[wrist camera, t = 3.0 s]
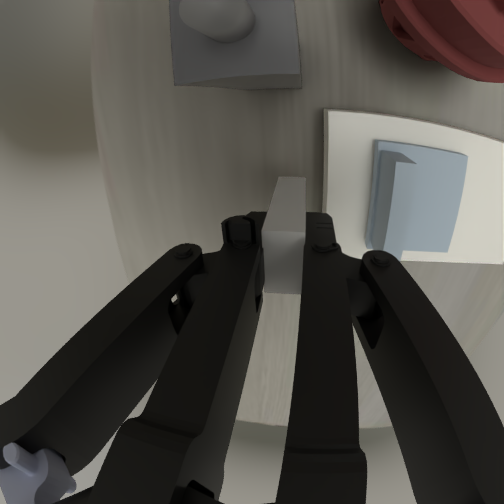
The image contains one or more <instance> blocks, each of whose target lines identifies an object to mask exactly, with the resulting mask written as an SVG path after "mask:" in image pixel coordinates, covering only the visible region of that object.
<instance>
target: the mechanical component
mask: <svg viewBox="0 0 504 504" xmlns="http://www.w3.org/2000/svg"><path fill="white" fill-rule="evenodd" d="M379 4H380V7H381V12H382V15H383V18H384V20H385V22H386V24H387V26H388V28H389V29H390V30H391V32H392V33H393V35H394V36H395V37H396V38H397V39H398V40H399V41H400V42H401V43H402V44H403V45H404V46H405V47H407V48H408V49H409V50H411V51H412V52H414V53H415V54H417V55H419V56H420V57H421V58H422V59H424V60H426V61H430V60H433V61H438V62H440V63H441V64H443V65H444V66H446V67H447V68H449V69H450V70H452V71H454V72H456V73H457V74H460V75H462V76H464V77H466V78H469V79H473V80H476V81H482V82H493V83H504V0H379Z"/></svg>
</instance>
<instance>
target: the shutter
mask: <svg viewBox="0 0 504 504" xmlns="http://www.w3.org/2000/svg"><path fill="white" fill-rule="evenodd" d="M467 162H468V156H467V155H465V154H463V153H459V152H454V151H450V150H445V149H439V148H434V147H428V146H422V145H416V144H410V143H403V142H395V141H387V140H378V139H375V152H374V168H373V180H372V191H371V200H370V209H369V217H368V225H367V232H366V239H365V245H366V248H367V249H374V250H382V251H386V252H388V253H390V254H392V255H393V256H395V257H396V258H397V259H398V260H399V262H400V260H401V256H402V252H403V250H404V251H425V252H445V253H448V249H449V246H450V242H451V239H452V235H453V232H454V228H455V224H456V220H457V216H458V211H459V207H460V202H461V198H462V192H463V187H464V181H465V175H466V169H467Z"/></svg>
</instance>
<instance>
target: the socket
mask: <svg viewBox="0 0 504 504" xmlns="http://www.w3.org/2000/svg"><path fill="white" fill-rule="evenodd" d="M375 139H378V140H387V141H395V142H403V143H410V144H416V145H422V146H428V147H434V148H439V149H445V150H450V151H454V152H459V153H463V154H465V155H467V156H468V162H467V169H466V175H465V181H464V187H463V192H462V198H461V202H460V207H459V211H458V216H457V220H456V224H455V228H454V232H453V235H452V239H451V242H450V246H449V249H448V253H445V252H425V251H404V250H403V252H402V256H401V260H403V261H430V262H457V263H485V264H503V262H504V141H501V140H498V139H495V138H492V137H489V136H486V135H483V134H479V133H476V132H473V131H469V130H465V129H462V128H458V127H454V126H450V125H445V124H441V123H436V122H432V121H427V120H421V119H416V118H410V117H404V116H398V115H391V114H384V113H375V112H366V111H356V110H343V109H326V108H324V174H323V204H322V213H327V214H329V215H330V216H331V217H332V220H333V225H334V230H335V236H336V242H337V243H338V244H339V245H340V247H341V250H342V252H343V253H344V254H346V255H348V256H351V257H354V258H358V259H362V256H363V254H364V253H366V252H367V251H371V250H374V249H367V248H366V245H365V239H366V232H367V225H368V217H369V209H370V200H371V191H372V180H373V168H374V152H375Z"/></svg>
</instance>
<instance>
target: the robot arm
mask: <svg viewBox="0 0 504 504" xmlns="http://www.w3.org/2000/svg"><path fill="white" fill-rule="evenodd" d="M221 225H222V233H223V241H224V244H223V246H222V248H221V250H220V251H217V252H212V253H205V254H202V249H201V248H200V246H198V245H196V244H189V243H185V244H180V245H178V246H175V247H173V248H172V249H170V250H169V251H168V252H166V253H165V254H164V255H163V256H162V257H161V258H159V259H158V260H157V261H156V262H155V263H153V264H152V265H151V266H150V267H149V268H148V269H146V270H145V271H144V272H143V273H142V274H141V275H139V276H138V277H137V278H136V279H135V280H134V281H133V282H131V283H130V284H129V285H128V286H127V287H126V288H125V289H124V290H123V291H121V292H120V293H119V294H118V295H117V296H116V297H115V298H114V299H113V300H111V301H110V302H109V303H108V304H107V305H106V306H105V307H104V308H103V309H101V310H100V311H99V312H98V313H97V314H96V315H95V316H94V317H93V318H92V319H91V320H90V321H89V322H88V323H87V324H86V325H84V326H83V327H82V328H81V329H80V330H79V331H78V332H77V333H76V334H75V335H74V336H73V337H72V338H71V339H70V340H69V341H68V342H67V343H66V344H65V345H64V346H63V347H62V348H61V349H60V350H59V351H58V352H57V353H56V354H55V355H54V356H53V357H52V358H51V359H50V360H49V361H48V362H47V363H46V364H45V365H44V366H43V367H42V368H41V369H40V370H39V371H38V372H37V373H36V374H35V375H34V377H33V378H32V379H31V380H30V381H29V382H28V383H27V384H26V385H25V386H24V387H23V388H22V389H21V390H20V392H19V393H18V394H17V395H16V396H15V397H13V398H12V399H10V400H8V401H7V402H5V403H3V404H2V405H0V487H1V489H2V492H3V495H4V497H5V500H6V503H7V504H224V503H221V502H219V501H218V500H219V496H220V492H221V489H222V484H223V479H224V462H225V458H226V454H227V450H228V446H229V443H230V439H231V435H232V430H233V426H234V423H235V419H236V415H237V410H238V406H239V402H240V398H241V394H242V390H243V386H244V381H245V377H246V373H247V369H248V364H249V360H250V356H251V351H252V347H253V343H254V338H255V334H256V330H257V325H258V321H259V316H260V312H261V307H262V302H263V294H262V290H263V286H264V292H267V293H284V294H301V304H300V318H299V330H298V342H297V353H296V363H295V373H294V382H293V391H292V399H291V407H290V415H289V423H288V430H287V437H286V444H285V450H284V456H283V463H282V469H281V475H280V480H279V486H278V491H277V497H276V502H275V503H267V504H365V503H366V488H367V460H366V456H365V453H364V452H363V451H362V450H361V448H360V445H359V412H358V387H357V371H356V357H355V346H354V335H353V326H354V328H355V330H356V333H357V335H358V337H359V340H360V342H361V344H362V347H363V349H364V352H365V354H366V356H367V359H368V361H369V364H370V366H371V369H372V371H373V374H374V376H375V379H376V382H377V384H378V387H379V389H380V392H381V395H382V397H383V400H384V403H385V405H386V408H387V411H388V414H389V417H390V419H391V422H392V425H393V428H394V431H395V434H396V437H397V440H398V443H399V446H400V449H401V452H402V455H403V458H404V462H405V465H406V468H407V471H408V475H409V479H410V482H411V486H412V489H413V493H414V496H415V499H416V502H417V504H504V427H503V424H502V422H501V420H500V418H499V416H498V413H497V411H496V409H495V407H494V405H493V403H492V401H491V399H490V397H489V395H488V394H487V391H486V389H485V388H484V386H483V384H482V382H481V380H480V378H479V377H478V375H477V373H476V371H475V370H474V368H473V366H472V364H471V363H470V361H469V359H468V358H467V356H466V354H465V353H464V351H463V349H462V348H461V346H460V345H459V343H458V342H457V340H456V338H455V337H454V335H453V334H452V332H451V331H450V329H449V328H448V326H447V325H446V323H445V322H444V320H443V319H442V317H441V316H440V315H439V313H438V312H437V310H436V309H435V307H434V306H433V305H432V303H431V302H430V301H429V299H428V298H427V296H426V295H425V294H424V292H423V291H422V290H421V288H420V287H419V286H418V284H417V283H416V282H415V281H414V279H413V278H412V277H411V275H410V274H409V273H408V272H407V270H406V269H405V268H404V267H403V265H402V264H401V263H400V262H399V260H398V259H397V258H396V257H395V256H393V255H392V254H390V253H388V252H386V251H382V250H371V251H367V252H366V253H364V254H363V256H362V259H358V258H354V257H351V256H348V255H346V254H344V253H343V252H342V250H341V247H340V245H339V244H338V243H337V242H336V236H335V230H334V225H333V220H332V217H331V216H330V215H329V214H327V213H315V212H306V177H278V181H277V184H276V187H275V190H274V193H273V196H272V199H271V203H270V206H269V209H268V212H250V213H249V214H247V215H246V216H245V215H241V216H234V217H230V218H228V219H225V220H224V221H223V222H222V223H221ZM175 294H176V296H177V300H176V301H175V302H173V303H172V301H171V299H172V297H173V296H174V295H175ZM352 323H353V326H352ZM157 379H158V380H157ZM156 380H157V382H156V384H155V386H154V388H153V391H152V393H151V395H150V397H149V400H148V402H147V404H146V406H145V408H144V410H143V412H142V414H141V415H140V416H138V417H135V418H130V419H128V420H126V421H125V419H126V418H127V417H128V416H129V414H130V413H131V412H132V410H133V409H134V408H135V407H136V405H137V404H138V403H139V402H140V400H141V399H142V398H143V397H144V395H145V394H146V393H147V392H148V390H149V389H150V388H151V387H152V385H153V384H154V383H155V381H156ZM124 421H125V422H124ZM123 422H124V423H123ZM122 423H123V424H122ZM120 426H121V427H120ZM119 427H120V428H119ZM118 428H119V430H118ZM117 430H118V431H117ZM116 431H117V433H116V436H115V438H114V440H113V442H112V445H111V447H110V449H109V451H108V453H107V456H106V458H105V460H104V463H103V465H102V467H101V470H100V472H99V474H98V477H97V479H96V482H95V484H94V486H92V487H90V488H87V489H85V490H83V491H81V492H79V493H77V494H74V495H72V496H69V497H67V498H65V499H62V500H60V498H61V497H62V496H63V495H64V494H65V493H73V492H74V491H75V490H76V482H75V480H74V479H73V478H72V477H71V476H73V475H74V474H76V473H77V472H79V471H80V470H82V469H83V468H84V467H85V466H87V465H88V464H89V463H90V462H91V461H92V460H93V459H94V458H95V457H96V455H97V454H98V453H99V452H100V451H101V450H102V449H103V447H104V446H105V445H106V443H107V442H108V441H109V439H110V438H111V437H112V436H113V435H114V433H115V432H116Z"/></svg>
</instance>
